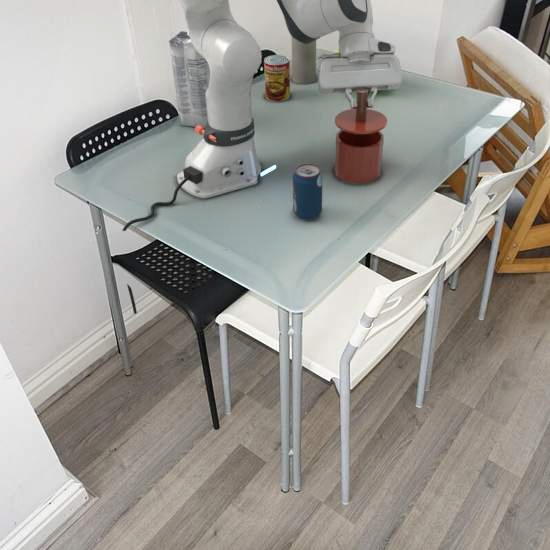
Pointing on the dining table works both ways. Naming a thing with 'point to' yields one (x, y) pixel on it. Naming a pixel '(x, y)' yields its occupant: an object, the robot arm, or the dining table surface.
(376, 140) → the pot
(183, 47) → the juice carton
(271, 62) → the canned food
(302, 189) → the soda can
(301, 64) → the thermos bottle
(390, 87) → the robot arm
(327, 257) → the dining table surface
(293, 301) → the dining table surface
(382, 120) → the lid
